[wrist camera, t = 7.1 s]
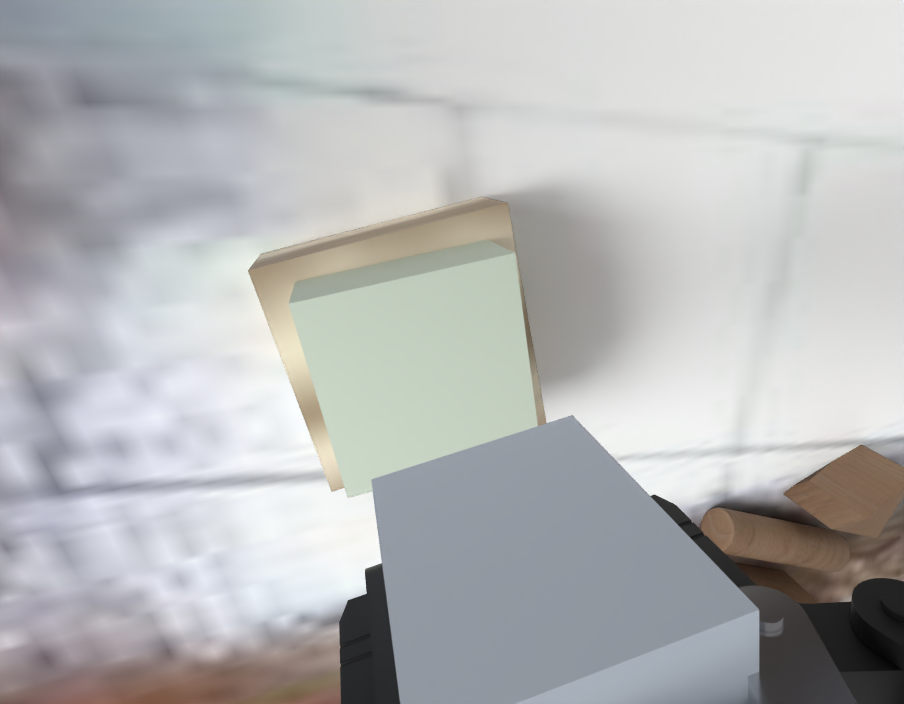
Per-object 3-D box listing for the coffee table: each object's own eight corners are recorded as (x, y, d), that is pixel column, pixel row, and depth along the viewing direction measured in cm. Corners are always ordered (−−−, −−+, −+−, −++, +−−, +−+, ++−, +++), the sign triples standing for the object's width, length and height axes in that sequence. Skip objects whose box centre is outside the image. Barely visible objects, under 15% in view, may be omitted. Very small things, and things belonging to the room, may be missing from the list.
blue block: (371, 479, 12) (405, 745, 7) (572, 414, 13) (758, 609, 7) (423, 631, 14) (484, 938, 8) (596, 569, 15) (758, 818, 9)
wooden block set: (819, 667, 41) (630, 650, 36) (764, 610, 46) (592, 588, 41) (941, 484, 37) (748, 433, 31) (865, 444, 42) (688, 394, 37)
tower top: (295, 281, 23) (288, 304, 20) (487, 239, 25) (515, 252, 21) (345, 451, 27) (347, 498, 23) (512, 407, 28) (540, 444, 24)
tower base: (262, 252, 27) (248, 270, 23) (479, 196, 29) (507, 202, 24) (331, 444, 32) (331, 491, 27) (516, 387, 33) (546, 423, 29)
